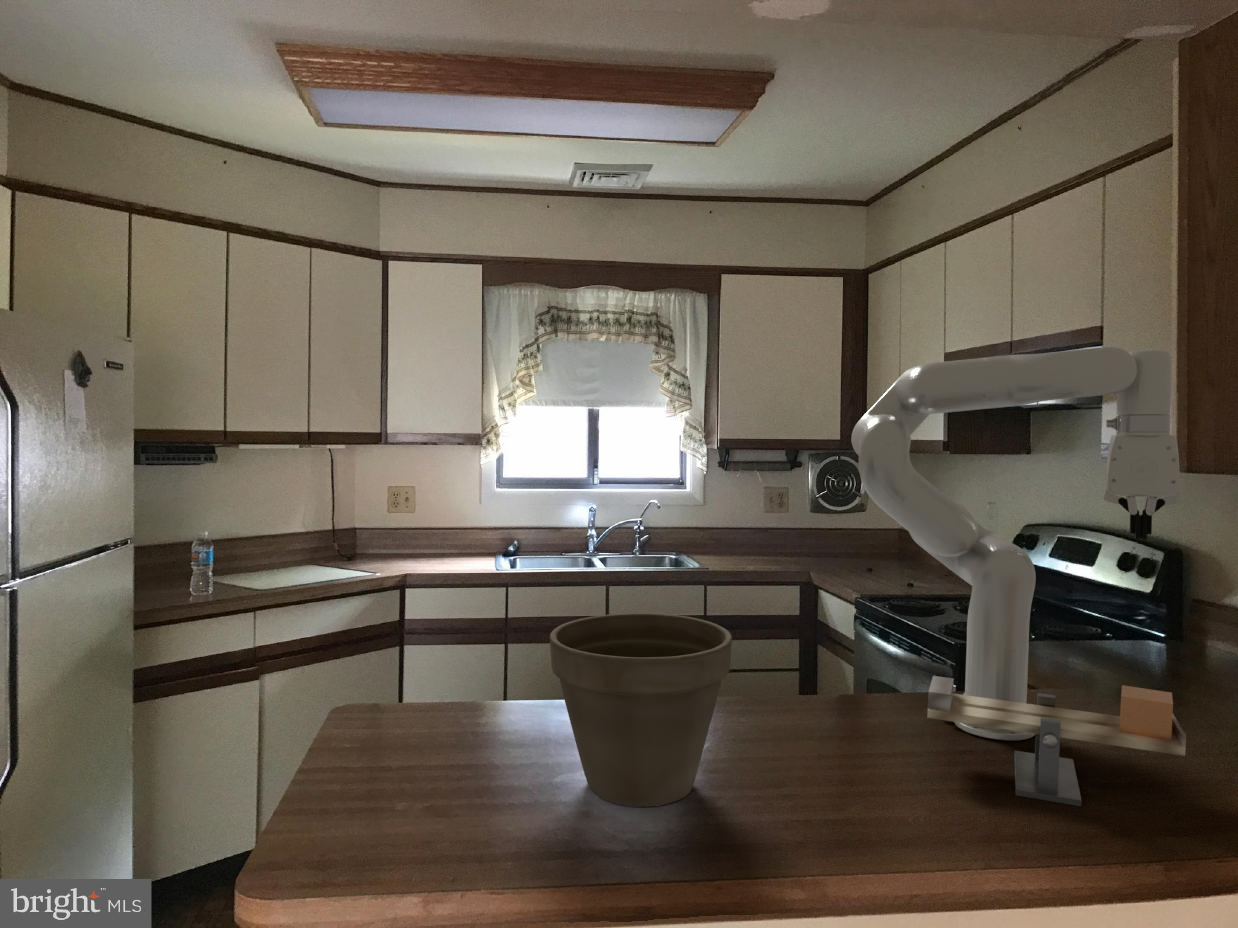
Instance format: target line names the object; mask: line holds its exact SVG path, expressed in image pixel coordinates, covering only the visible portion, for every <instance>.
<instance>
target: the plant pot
mask: <svg viewBox="0 0 1238 928" xmlns="http://www.w3.org/2000/svg"><path fill="white" fill-rule="evenodd" d="M732 641H733V637H732V634H731V632H730V631H729V630H728V629H726V628H725V627H724V626H721V625H719V624H717V623H714V622H711V621H708V620H704V619H699V618H696V617H691V616H686V615H685V616H684V615H678V614H677V615H676V614H666V613H652V612H651V613H649V612H647V613H646V612H645V613H644V612H638V613H637V612H636V613H635V612H634V613H633V612H630V613H613V614H603V615H595V616H589V617H584V618H583V617H582V618H579V619H575V620H571V621H568V622H565V623H563V624H561V625H558V626H556V627H555V628H554V629H553V630H552V631H551V632H550V634H549V647H550V662H551V670H552V673H553V674H554V675H555V676H556V678H558V679H559V683H560V687H561V691H562V695H563V698H564V703H565V707H566V710H567V714H568V719H569V721H570V725H571V729H572V734H573V737H574V740H575V743H576V747H577V752H578V755H579V760H580V764H581V767H582V770H583V773H584V777H585V779H586V782H587V785H588V787H589V790H590V791H591V792H592V793H593V794H594V795H595V796H597V797H598V798H599V799H601V800H604V801H606V802H609V803H612V804H615V805H620V806H625V807H638V808H649V807H650V808H651V807H658V806H659V807H660V806H665V805H668V804H672V803H675V802H678V801H679V800H681V799H682V800H683V798H685V797H686V796H688V794H690V793H691V791H692V789H693V786H694V784H695V781H696V777H697V773H698V771H699V767H700V763H701V759H702V756H703V752H704V748H705V744H706V740H707V737H708V733H709V730H710V725H711V722H712V719H713V715H714V713H715V709H716V708H715V707H716V704H717V700H718V698H719V697H718V696H719V693H720V688H721V684H722V680H724V679H725V678H726V677H727V675H729V672H730V669H731V658H732V643H733V642H732Z"/></svg>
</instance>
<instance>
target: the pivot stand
mask: <svg viewBox="0 0 1238 928" xmlns="http://www.w3.org/2000/svg"><path fill="white" fill-rule="evenodd" d="M1036 695H1037V699H1036V705H1041V706H1048V707H1056V704H1057V703H1056V701H1057V698H1056V695H1055V694H1050V693H1049V694H1047V693H1041V692H1038V693H1037V694H1036ZM1060 725H1061V723H1060V720H1055V719H1048V718H1041V719H1040V734H1035V742H1034V743H1035V747H1034V748H1035V749H1034V752H1033V753H1032V752H1027V751H1026V752H1025V751H1021V750H1020V751H1019V750H1014V782H1015V796H1018V797H1023V798H1029V799H1036V800H1041V801H1046V802H1048V801H1049V802H1054V803H1058V804H1059V803H1060V804H1064V805H1071V806H1076V807H1082V800H1083V799H1082V797H1081V791H1080V786H1079V782H1078V777H1077V773H1076V768H1075V767H1076V766H1075V762H1074V759H1073V758H1067V757H1061V756H1060V746H1061V745H1060V744H1061V737H1060Z"/></svg>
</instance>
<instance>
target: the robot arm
mask: <svg viewBox="0 0 1238 928" xmlns="http://www.w3.org/2000/svg"><path fill="white" fill-rule="evenodd" d="M1171 385H1172V356H1171V354H1170V353H1169V352H1168V351H1165V350H1163V349H1137V350H1129V351H1127V350H1125V349H1124V348H1121V347H1117V346H1104V347H1102V346H1101V347H1093V348H1084V349H1083V348H1082V349H1075V350H1074V349H1073V350H1065V351H1064V350H1063V351H1054V352H1044V353H1030V354H1029V353H1027V354H1026V353H1025V354H1023V353H1021V354H1020V353H1019V354H1010V355H998V356H996V355H995V356H987V357H978V358H968V359H960V360H959V359H957V360H948V361H938V362H929V363H923V364H920V365H917V366H914V367H911V368H909V369H907V370H905V372H903V373H902V374H901V375H900V376H899V377H898V378H897V380H895V382H893V384H891V386H890V387H889V388H888V389H887V390H886V392H885V393H884V394H883V395H882V396H881V397H880V398H879V399H878V400H877V401H876V402H875V403H874V404H873V405H872V406H871V407H870V409H868V410H867V412H866V413H864V414H863V416H862V417H861V418H860V419H859V420H858V421H857V423H855V425H854V427H853V430H852V433H851V438H850V439H851V446H852V448H853V451H854V452H855V453H856V455H857V456H858V470H859V471H858V472H859V475H860V476H859V477H860V481H861V483H862V485H863V488H864V490H865V492H866V493H867V495H868V497H869V498H870V499H871V501H872V502H874V503H875V504H876V506H877V507H879V508H880V509H881V510H882V511H883V512H884V513H886V514H887V515H888V516H889V517H891V518H892V520H894V521H895V522H897V523H898V524H899V525H900V526H901V527H903V529H905V530H906V531H907V532H909V533H908V534H909V535H910V537H911V538H912V540H913V541H914V543H916V544H917V545H918V546H919V547H921V548H922V549H923V550H924V551H926V552H927V553H928V554H929V555H931V556H932V557H933V558H935V560H937V561H938V562H940V563H941V564H942V565H943V566H945V567H946V568H947V569H948V570H950V571H951V572H953V574H955V575H956V576H958V577H959V578H961V580H964V581H965V583H967V584H969V585H970V586H971V593H970V600H969V605H968V609H967V610H968V612H967V620H966V622H967V623H966V624H967V625H966V654H965V682H964V684H965V685H964V692H963V693H962V695H967V696H975V697H982V698H989V699H997V700H1004V701H1011V702H1019V703H1026V704H1027V701H1028V700H1027V697H1028V696H1027V695H1028V675H1029V673H1028V669H1029V646H1030V645H1029V642H1030V620H1031V619H1030V618H1031V611H1032V610H1031V609H1032V604H1033V603H1032V602H1033V598H1034V593H1035V588H1036V582H1037V581H1036V579H1037V577H1036V570H1035V565H1034V563H1033V561H1032V559H1031V557H1030V556H1029V555H1028V553H1027V552H1026V551H1025V550H1024V549H1023V548H1021V547H1020V546H1018V545H1016V544H1014V543H1012V542H1009V541H1007V540H1005V539H1002V538H1001V539H1000V538H999V537H997V536H996V535H994V534H992V533H991V532H990V531H989V530H988V529H986V528H985V527H984V526H982V525H981V524H979V523H978V522H977V521H976V519H975V518H974V516H973V515H972V514H971V512H970V511H969V510H968V509H967V508H965V507H964V506H963V505H962V504H960V503H958V502H956V501H954V500H953V499H952V498H950V497H949V496H948V495H946V494H945V493H944V492H942V491H941V490H940V489H938V488H937V487H935V486H934V485H933V484H931V482H929V481H928V480H927V479H926V477H923V475H921V474H920V473H919V472H918V471H917V470H916V469H915V467H914V466H913V464H912V462H911V457H910V452H911V451H910V450H911V443H912V441H911V440H912V438H911V436H912V434H914V432H916V431H917V429H918V428H919V427H920V426H921V424H922V423H924V421H925V420H926V419H927V418H928V417H929V416H930V414H943V413H953V412H954V413H956V412H967V411H976V410H986V409H987V410H988V409H997V408H998V409H999V408H1000V409H1001V408H1008V407H1009V408H1010V407H1018V406H1026V405H1030V404H1035V403H1040V402H1047V401H1057V400H1065V399H1075V398H1076V399H1078V398H1085V397H1086V398H1087V397H1097V396H1113V395H1116V417H1114V418H1111V419H1106V428H1109V429H1110V428H1111V429H1113V430H1115V434H1112V435H1110V440H1109V443H1108V444H1109V445H1108V451H1107V457H1106V469H1105V470H1106V471H1105V472H1106V473H1105V486H1106V488H1105V492H1104V495H1103V499H1104V501H1106V502H1109V503H1113V504H1117V505H1120V506H1122V508H1123V509H1124V510H1125V511H1127V512H1128V513H1129V534H1132V535H1133V538H1134V540H1141V539H1142V540H1143V541H1144V540H1145V541H1147V540H1148V535H1152V530H1153V529H1152V528H1153V525H1152V523H1153V522H1152V520H1153V515H1155V513H1156V512H1157V511H1159V510H1160V509H1161V508H1163V506H1164V507H1165V506H1169V505H1170V506H1171V505H1175V504H1179V503H1180V502H1181V497H1180V494H1179V492H1180V486H1181V485H1180V484H1181V483H1180V474H1181V473H1180V456H1179V448H1178V447H1179V446H1178V442H1177V436H1176V435H1175V434H1171V397H1172V396H1171V395H1172V393H1171V392H1172V389H1171V388H1172V386H1171ZM1136 497H1146V500H1145V504H1144V509H1143V510H1142V514H1140V511H1139V509H1138V506H1137V500H1136V499H1137V498H1136ZM954 724H955V726H956V727H957V728H958V729H960V730H962V731H963V732H966V733H968V734H971V735H974V736H977V737H983V738H986V739H991V740H998V741H1021V740H1028V739H1031V738H1034V736H1036V734H1034V733H1028V732H1021V731H1014V730H1007V729H1001V728H994V727H987V726H980V725H974V724H967V723H960V722H954Z"/></svg>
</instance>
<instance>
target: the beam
mask: <svg viewBox="0 0 1238 928" xmlns="http://www.w3.org/2000/svg"><path fill="white" fill-rule="evenodd" d="M954 680H955V679H954V678H952V677H945V676H938V675H937V676H936V675H932V679H931V682H930V686H929V689H928V697H927V715H926V718H927V719H933V720H940V721H941V720H942V721H948V722H960V723H967V724H974V725H980V726H987V727H994V728H1001V729H1007V730H1014V731H1021V732H1028V733H1034V734H1035V735H1036V734H1040V719H1041V718H1048V719H1055V720H1060V723H1061V725H1060V739H1069V740H1077V741H1083V742H1090V743H1097V744H1103V745H1109V746H1116V747H1117V746H1118V747H1123V748H1130V749H1136V750H1143V751H1148V752H1149V751H1150V752H1157V753H1164V754H1170V755H1178V756H1184V757H1185V756H1186V751H1187V750H1186V747H1187V745H1186V744H1187V734H1186V732H1185V731H1184V729H1183V728H1182V726H1181V724H1180V722H1179V721H1178V719H1177V718H1176V716H1175V715H1174V713H1173V715H1172V734H1171V741H1168V740H1162V739H1156V738H1150V737H1145V736H1139V735H1133V734H1128V733H1122V732H1119V728H1120V715H1114V714H1107V713H1105V714H1104V713H1098V712H1092V711H1086V710H1085V711H1084V710H1077V709H1069V708H1062V707H1056V706H1055V707H1048V706H1041V705H1037V704H1034V703H1033V704H1032V703H1027V702H1026V703H1019V702H1011V701H1004V700H997V699H989V698H982V697H975V696H967V695H963V694H961V693H960V694H958V693H954Z"/></svg>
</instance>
